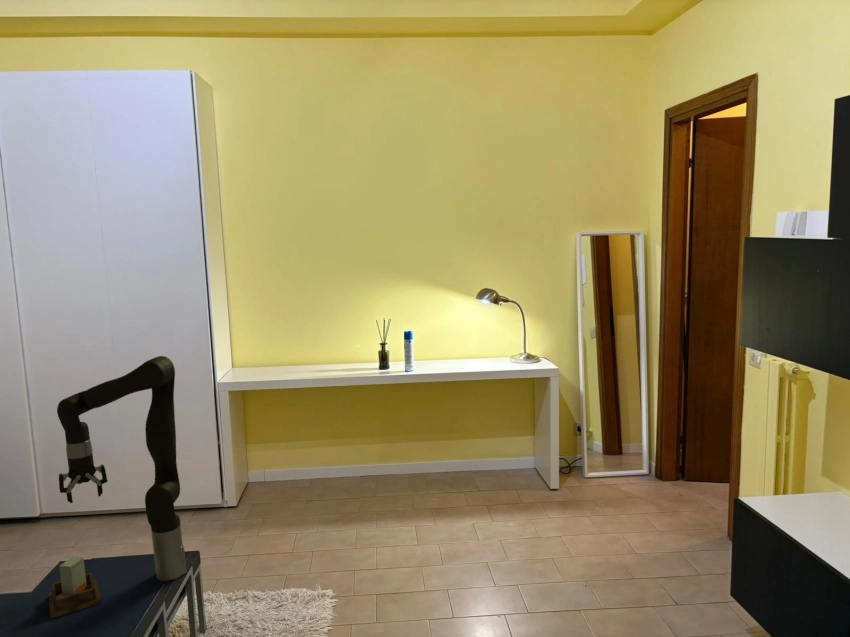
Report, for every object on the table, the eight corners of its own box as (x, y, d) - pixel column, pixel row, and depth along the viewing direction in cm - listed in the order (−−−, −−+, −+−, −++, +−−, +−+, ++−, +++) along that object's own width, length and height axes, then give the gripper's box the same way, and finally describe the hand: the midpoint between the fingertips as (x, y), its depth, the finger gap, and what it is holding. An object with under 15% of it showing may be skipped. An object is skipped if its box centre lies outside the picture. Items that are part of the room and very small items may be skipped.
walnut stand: (96, 582, 216) (95, 569, 215) (101, 603, 204) (99, 589, 203) (49, 596, 209) (47, 583, 208) (50, 618, 197) (48, 604, 196)
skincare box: (74, 602, 203) (70, 567, 201) (63, 601, 204) (58, 566, 202) (88, 591, 209) (83, 556, 207) (76, 590, 210) (72, 556, 208)
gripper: (101, 445, 222) (107, 489, 225) (54, 455, 215) (60, 500, 217) (104, 451, 216) (110, 497, 219) (56, 461, 208) (62, 508, 211)
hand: (85, 499), depth 218 cm, fingers open, 8 cm apart
